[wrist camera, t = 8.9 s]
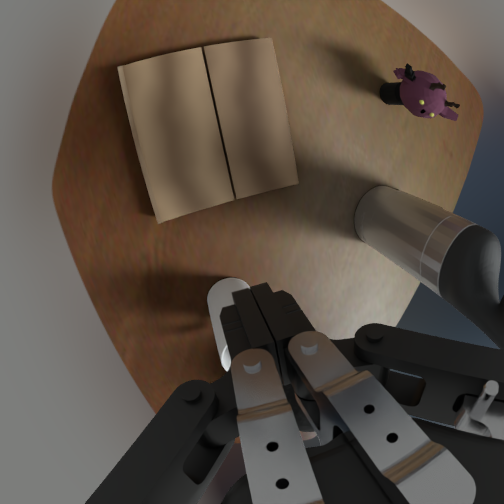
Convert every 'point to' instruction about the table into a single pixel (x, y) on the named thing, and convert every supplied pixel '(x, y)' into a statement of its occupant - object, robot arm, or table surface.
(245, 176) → the fixed plank
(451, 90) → the table surface
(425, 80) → the figurine
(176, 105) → the board
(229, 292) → the mug
